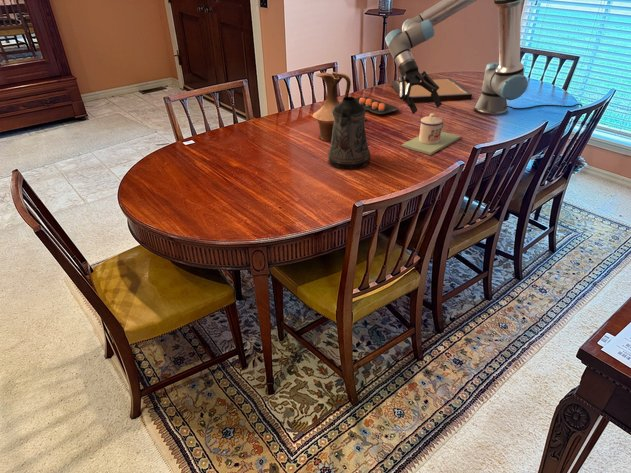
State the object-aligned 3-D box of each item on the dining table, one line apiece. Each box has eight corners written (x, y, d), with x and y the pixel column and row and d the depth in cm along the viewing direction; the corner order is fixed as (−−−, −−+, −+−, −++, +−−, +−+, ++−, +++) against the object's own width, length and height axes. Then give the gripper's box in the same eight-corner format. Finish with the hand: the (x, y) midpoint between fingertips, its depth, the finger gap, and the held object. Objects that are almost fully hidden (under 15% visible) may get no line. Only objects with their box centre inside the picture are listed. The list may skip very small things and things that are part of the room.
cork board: (391, 85, 261) (406, 103, 232) (392, 80, 260) (407, 97, 230) (449, 82, 263) (471, 99, 234) (449, 77, 262) (472, 94, 232)
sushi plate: (401, 112, 220) (402, 104, 218) (355, 125, 206) (355, 117, 204) (364, 99, 240) (364, 92, 238) (320, 110, 226) (320, 102, 224)
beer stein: (362, 151, 180) (364, 89, 166) (377, 170, 164) (381, 104, 150) (323, 155, 177) (322, 93, 163) (335, 175, 161) (335, 109, 147)
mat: (432, 131, 197) (432, 128, 196) (460, 138, 189) (460, 136, 188) (401, 146, 183) (401, 144, 182) (430, 155, 175) (430, 152, 174)
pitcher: (356, 132, 198) (358, 68, 182) (346, 146, 184) (347, 78, 169) (320, 129, 203) (318, 66, 187) (307, 142, 189) (305, 76, 174)
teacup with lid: (428, 146, 179) (432, 119, 173) (413, 140, 186) (416, 113, 179) (449, 140, 184) (453, 113, 178) (434, 134, 191) (437, 107, 184)
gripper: (423, 66, 193) (443, 108, 190) (379, 75, 182) (399, 119, 180) (433, 55, 186) (454, 98, 184) (388, 64, 176) (409, 110, 173)
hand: (427, 109), depth 182 cm, fingers open, 13 cm apart
